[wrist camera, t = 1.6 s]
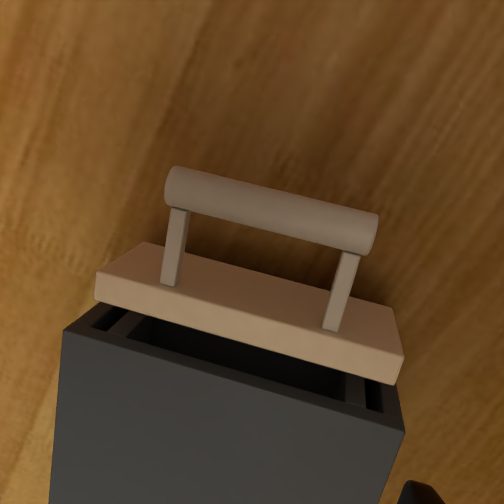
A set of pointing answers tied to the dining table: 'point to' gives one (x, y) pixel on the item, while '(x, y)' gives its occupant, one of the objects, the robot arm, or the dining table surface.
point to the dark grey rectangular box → (206, 430)
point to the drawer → (257, 293)
